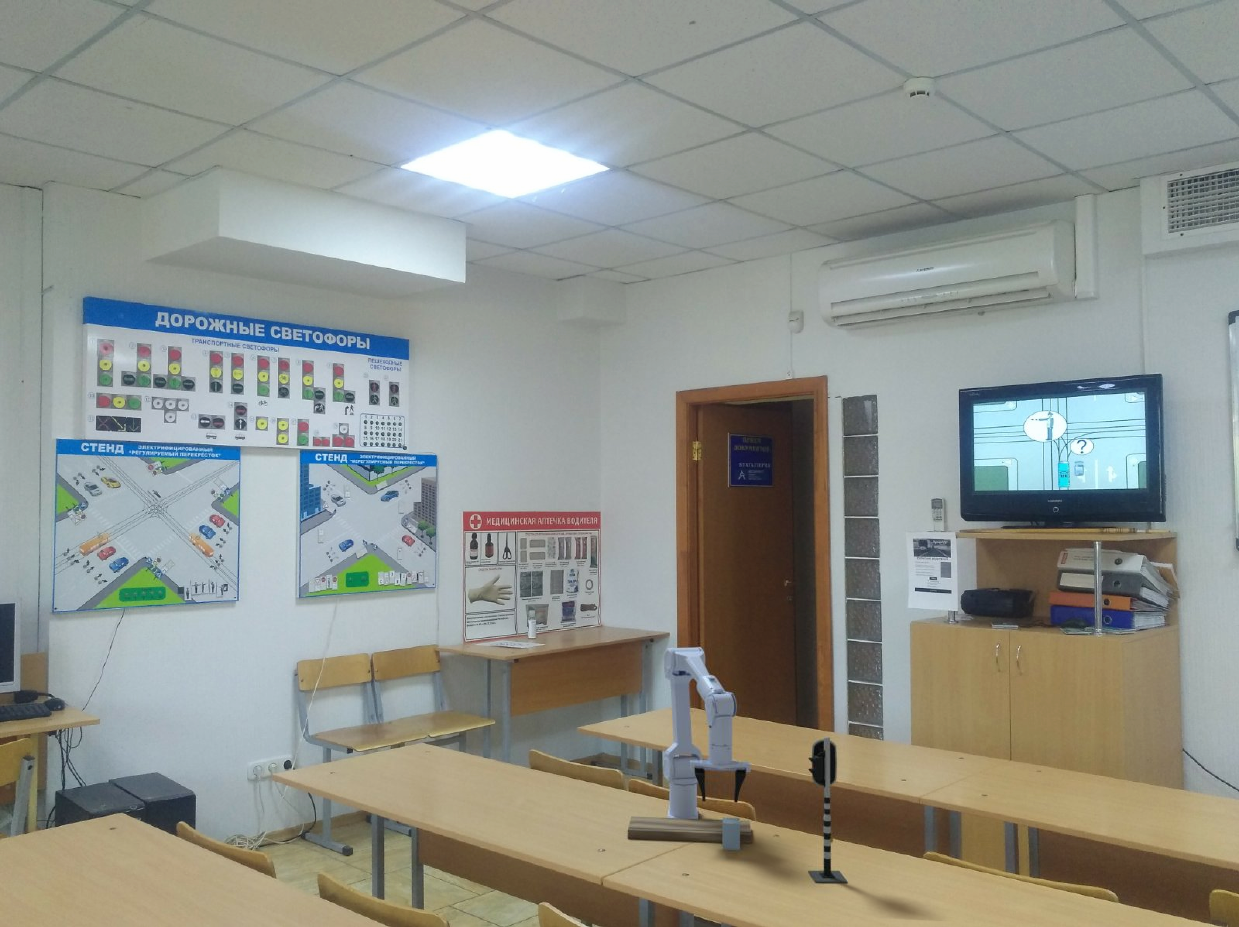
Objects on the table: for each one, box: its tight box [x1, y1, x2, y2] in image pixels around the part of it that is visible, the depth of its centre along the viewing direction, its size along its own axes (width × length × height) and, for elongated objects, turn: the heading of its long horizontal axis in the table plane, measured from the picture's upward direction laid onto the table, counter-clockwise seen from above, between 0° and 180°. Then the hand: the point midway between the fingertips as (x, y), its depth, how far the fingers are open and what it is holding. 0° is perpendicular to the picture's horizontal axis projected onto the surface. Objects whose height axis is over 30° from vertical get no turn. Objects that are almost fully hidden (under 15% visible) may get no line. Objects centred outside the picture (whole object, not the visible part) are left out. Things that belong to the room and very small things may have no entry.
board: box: [627, 816, 753, 844], centre depth 249 cm, size 12×30×2 cm, turn 85°
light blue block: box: [721, 817, 741, 851], centre depth 241 cm, size 8×4×6 cm, turn 175°
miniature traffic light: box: [807, 736, 848, 884], centre depth 219 cm, size 8×8×30 cm
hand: (719, 800), depth 242 cm, fingers open, 7 cm apart
